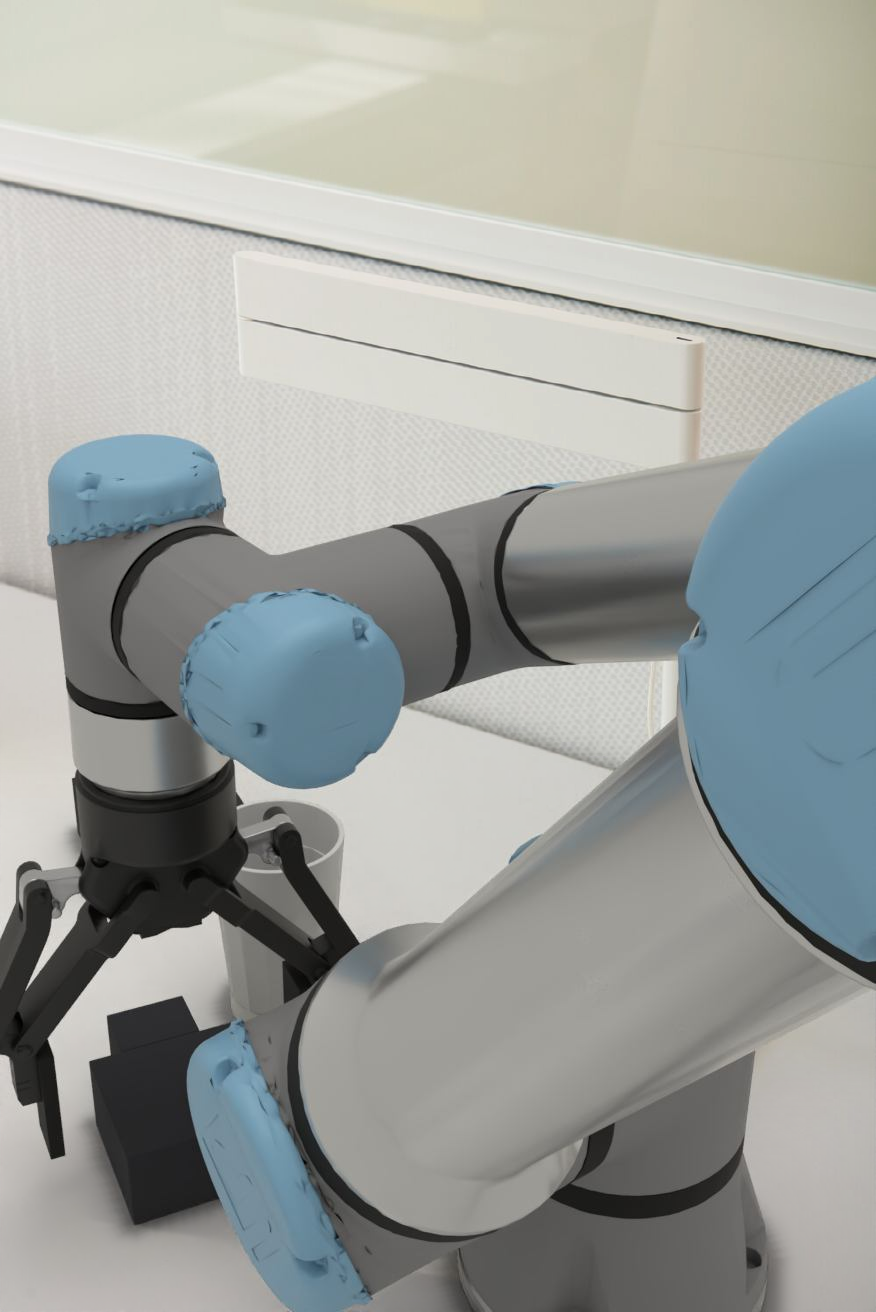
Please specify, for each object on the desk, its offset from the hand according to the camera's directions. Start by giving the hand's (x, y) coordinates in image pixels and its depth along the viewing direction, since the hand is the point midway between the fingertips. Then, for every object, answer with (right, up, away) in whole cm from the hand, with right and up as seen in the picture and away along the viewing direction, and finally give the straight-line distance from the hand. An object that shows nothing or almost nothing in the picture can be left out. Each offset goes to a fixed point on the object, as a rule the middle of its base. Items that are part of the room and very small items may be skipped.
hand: (180, 1104), depth 87 cm
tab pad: (0, -2, +2) cm, 3 cm away
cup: (+4, +3, +13) cm, 14 cm away
